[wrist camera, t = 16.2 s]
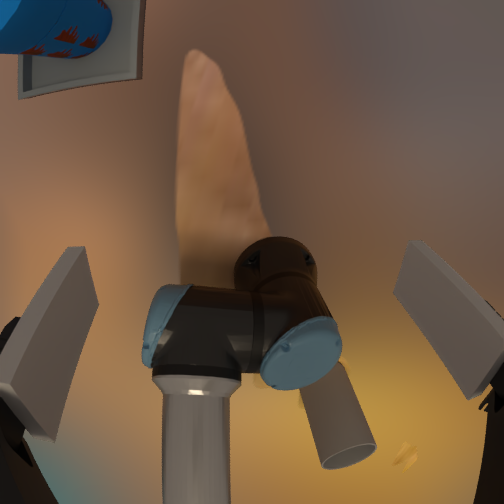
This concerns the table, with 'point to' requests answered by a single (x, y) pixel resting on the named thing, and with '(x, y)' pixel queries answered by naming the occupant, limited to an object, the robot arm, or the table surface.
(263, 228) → the table surface
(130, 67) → the tray
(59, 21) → the thermos
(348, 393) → the cylinder vase
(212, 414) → the robot arm
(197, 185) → the table surface
